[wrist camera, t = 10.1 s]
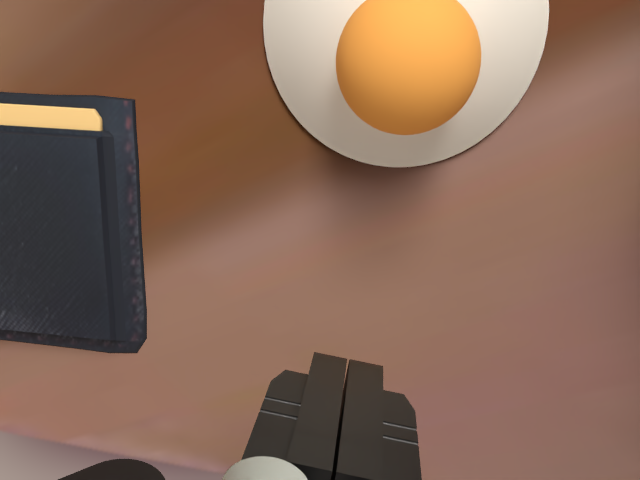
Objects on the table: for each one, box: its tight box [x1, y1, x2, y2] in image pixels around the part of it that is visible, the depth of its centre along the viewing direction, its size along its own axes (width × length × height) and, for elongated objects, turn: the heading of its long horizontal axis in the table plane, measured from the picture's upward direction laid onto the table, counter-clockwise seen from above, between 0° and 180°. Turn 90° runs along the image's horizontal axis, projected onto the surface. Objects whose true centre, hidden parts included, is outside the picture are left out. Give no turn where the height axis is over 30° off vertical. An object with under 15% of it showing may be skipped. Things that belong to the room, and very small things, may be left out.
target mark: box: [263, 0, 549, 167], centre depth 25 cm, size 13×13×1 cm
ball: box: [336, 0, 481, 135], centre depth 23 cm, size 6×6×6 cm
